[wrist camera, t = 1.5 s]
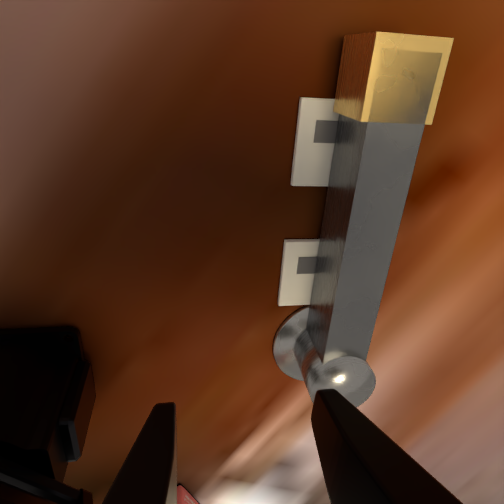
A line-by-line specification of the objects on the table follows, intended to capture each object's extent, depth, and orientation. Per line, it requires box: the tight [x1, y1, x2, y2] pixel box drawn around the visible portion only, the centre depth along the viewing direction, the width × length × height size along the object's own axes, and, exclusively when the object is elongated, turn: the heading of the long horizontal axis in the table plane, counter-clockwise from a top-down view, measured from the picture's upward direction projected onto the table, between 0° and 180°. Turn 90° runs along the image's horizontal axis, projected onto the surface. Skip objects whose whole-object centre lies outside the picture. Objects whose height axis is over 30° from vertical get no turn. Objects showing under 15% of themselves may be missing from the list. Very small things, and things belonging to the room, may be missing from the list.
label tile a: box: [278, 239, 320, 306], centre depth 22 cm, size 6×4×1 cm, turn 86°
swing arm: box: [294, 32, 454, 407], centre depth 19 cm, size 18×4×4 cm, turn 176°
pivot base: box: [273, 305, 310, 381], centre depth 24 cm, size 6×6×1 cm
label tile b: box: [290, 97, 339, 186], centre depth 19 cm, size 6×4×1 cm, turn 86°
